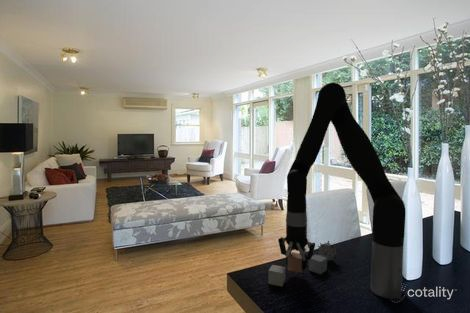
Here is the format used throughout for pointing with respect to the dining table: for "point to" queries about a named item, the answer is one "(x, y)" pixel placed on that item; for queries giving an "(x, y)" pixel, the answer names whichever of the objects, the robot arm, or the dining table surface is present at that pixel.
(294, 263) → the terracotta cube
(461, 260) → the dining table surface
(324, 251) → the small potted plant
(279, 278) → the cream cube
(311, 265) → the blue-grey cube
